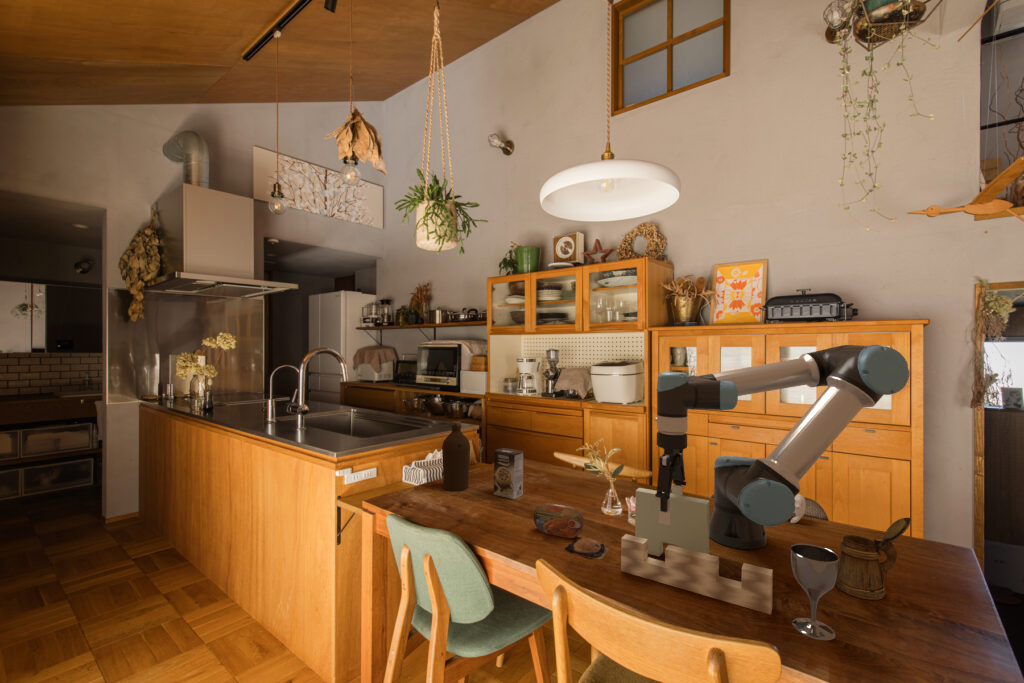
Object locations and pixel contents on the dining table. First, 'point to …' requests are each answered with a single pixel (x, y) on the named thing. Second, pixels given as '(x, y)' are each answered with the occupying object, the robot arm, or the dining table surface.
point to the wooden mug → (868, 562)
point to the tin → (558, 520)
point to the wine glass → (814, 584)
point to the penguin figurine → (799, 508)
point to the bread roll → (587, 548)
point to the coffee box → (508, 473)
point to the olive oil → (456, 459)
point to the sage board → (672, 522)
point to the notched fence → (698, 574)
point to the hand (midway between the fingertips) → (671, 516)
